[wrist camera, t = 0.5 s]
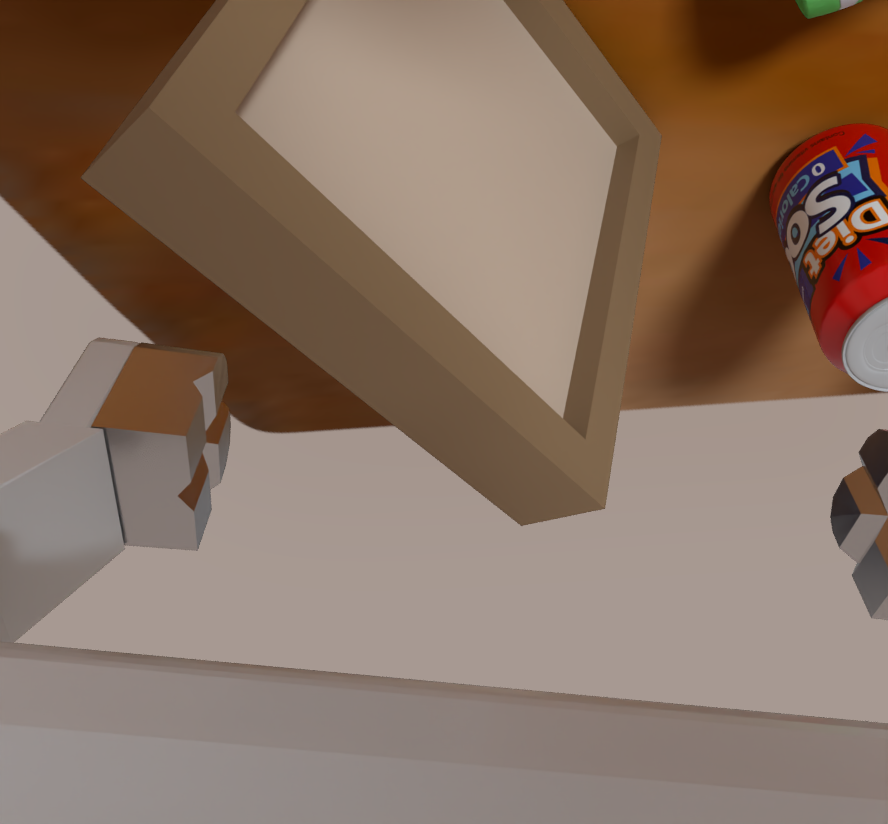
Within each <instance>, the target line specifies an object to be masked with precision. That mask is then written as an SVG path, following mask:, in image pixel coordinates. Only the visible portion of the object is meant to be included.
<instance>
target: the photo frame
mask: <svg viewBox="0 0 888 824" xmlns="http://www.w3.org/2000/svg"><path fill="white" fill-rule="evenodd" d="M661 137H662V135H661V134H660V133H659V131H658V130H657V128H656V127H655V126H654V124H653V123H652V122H651V120H650V119H649V118H648V116H647V115H646V113H645V112H644V111H643V109H642V108H641V107H640V105H639V104H638V103H637V101H636V100H635V98H634V97H633V96H632V94H631V93H630V92H629V90H628V89H627V87H626V86H625V85H624V83H623V82H622V81H621V79H620V78H619V77H618V75H617V74H616V72H615V71H614V70H613V68H612V67H611V66H610V64H609V63H608V62H607V60H606V59H605V57H604V56H603V55H602V53H601V52H600V51H599V49H598V48H597V46H596V45H595V44H594V42H593V41H592V40H591V38H590V37H589V36H588V34H587V33H586V31H585V30H584V29H583V27H582V26H581V25H580V23H579V22H578V21H577V19H576V18H575V16H574V15H573V14H572V12H571V11H570V10H569V8H568V7H567V6H566V4H565V3H564V1H563V0H216V1H215V2H214V4H213V5H212V6H211V8H210V9H209V10H208V11H207V13H206V14H205V15H204V17H203V18H202V19H201V21H200V22H199V23H198V25H197V26H196V27H195V28H194V30H193V31H192V32H191V34H190V35H189V36H188V38H187V39H186V40H185V42H184V43H183V44H182V46H181V47H180V48H179V49H178V51H177V52H176V53H175V55H174V56H173V57H172V59H171V60H170V61H169V63H168V64H167V65H166V67H165V68H164V69H163V70H162V72H161V73H160V74H159V76H158V77H157V78H156V80H155V81H154V82H153V84H152V85H151V86H150V87H149V89H148V90H147V91H146V93H145V94H144V95H143V97H142V98H141V99H140V101H139V102H138V103H137V105H136V106H135V107H134V108H133V110H132V111H131V112H130V114H129V115H128V116H127V118H126V119H125V120H124V122H123V123H122V124H121V125H120V127H119V128H118V129H117V131H116V132H115V133H114V135H113V136H112V137H111V139H110V140H109V141H108V143H107V144H106V145H105V146H104V148H103V149H102V150H101V152H100V153H99V154H98V156H97V157H96V158H95V160H94V161H93V162H92V163H91V165H90V166H89V167H88V169H87V170H86V171H85V173H84V174H83V175H82V177H81V179H83V180H84V181H85V182H86V183H88V184H89V185H90V186H91V187H93V188H94V189H95V190H97V191H98V192H99V193H100V194H102V195H103V196H104V197H105V198H107V199H108V200H109V201H110V202H112V203H113V204H114V205H116V206H117V207H118V208H119V209H121V210H122V211H123V212H124V213H126V214H127V215H128V216H129V217H131V218H132V219H133V220H135V221H136V222H137V223H138V224H140V225H141V226H142V227H143V228H145V229H146V230H147V231H148V232H150V233H151V234H152V235H154V236H155V237H156V238H157V239H159V240H160V241H161V242H162V243H164V244H165V245H166V246H167V247H169V248H170V249H171V250H173V251H174V252H175V253H176V254H178V255H179V256H180V257H181V258H183V259H184V260H185V261H186V262H188V263H189V264H190V265H192V266H193V267H194V268H195V269H197V270H198V271H199V272H200V273H202V274H203V275H204V276H205V277H207V278H208V279H209V280H211V281H212V282H213V283H214V284H216V285H217V286H218V287H219V288H221V289H222V290H223V291H224V292H226V293H227V294H228V295H230V296H231V297H232V298H233V299H235V300H236V301H237V302H238V303H240V304H241V305H242V306H243V307H245V308H246V309H247V310H249V311H250V312H251V313H252V314H254V315H255V316H256V317H257V318H259V319H260V320H261V321H262V322H264V323H265V324H266V325H268V326H269V327H270V328H271V329H273V330H274V331H275V332H276V333H278V334H279V335H280V336H281V337H283V338H284V339H285V340H287V341H288V342H289V343H290V344H292V345H293V346H294V347H295V348H297V349H298V350H299V351H301V352H302V353H303V354H304V355H306V356H307V357H308V358H309V359H311V360H312V361H313V362H314V363H316V364H317V365H318V366H320V367H321V368H322V369H323V370H325V371H326V372H327V373H328V374H330V375H331V376H332V377H333V378H335V379H336V380H337V381H339V382H340V383H341V384H342V385H344V386H345V387H346V388H347V389H349V390H350V391H351V392H352V393H354V394H355V395H356V396H358V397H359V398H360V399H361V400H363V401H364V402H365V403H366V404H368V405H369V406H370V407H371V408H373V409H374V410H375V411H377V412H378V413H379V414H380V415H382V416H383V417H384V418H385V419H387V420H388V421H389V422H390V423H392V424H393V425H394V426H396V427H397V428H398V429H399V430H401V431H402V432H404V433H405V434H406V435H407V436H408V437H409V438H411V439H412V440H413V441H415V442H416V443H417V444H418V445H420V446H421V447H422V448H424V449H425V450H426V451H427V452H428V453H430V454H431V455H432V456H434V457H435V458H436V459H437V460H439V461H440V462H441V463H443V464H444V465H445V466H446V467H448V468H449V469H450V470H451V471H453V472H454V473H455V474H457V475H458V476H459V477H460V478H461V479H463V480H464V481H465V482H466V483H468V484H469V485H470V486H472V487H473V488H474V489H475V490H477V491H478V492H479V493H481V494H482V495H483V496H484V497H485V498H487V499H488V500H489V501H491V502H492V503H493V504H494V505H496V506H497V507H498V508H500V509H501V510H502V511H503V512H504V513H506V514H507V515H508V516H510V517H511V518H512V519H513V520H515V521H516V522H517V523H518V524H520V525H521V526H523V525H528V524H532V523H537V522H542V521H547V520H551V519H557V518H561V517H567V516H571V515H576V514H581V513H586V512H591V511H596V510H601V509H605V505H606V499H607V492H608V486H609V479H610V472H611V465H612V459H613V452H614V446H615V440H616V433H617V426H618V420H619V413H620V407H621V400H622V394H623V387H624V380H625V374H626V367H627V361H628V354H629V348H630V341H631V334H632V328H633V321H634V315H635V308H636V302H637V295H638V288H639V282H640V275H641V269H642V262H643V256H644V249H645V242H646V236H647V229H648V223H649V216H650V210H651V203H652V196H653V190H654V183H655V177H656V170H657V164H658V157H659V150H660V144H661Z"/></svg>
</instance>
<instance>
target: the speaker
mask: <svg viewBox="0 0 888 824" xmlns="http://www.w3.org/2000/svg"><path fill="white" fill-rule="evenodd" d="M795 1H796V3H797V5H798V7H799V9H800V10H801V12H802V13H803V15H804V16H805V17H806V18H808V19H809V18H813V17H817V16H821V15H825V14H829V13H832V12H835V11H838V10H841V9H844V8H847V7H849V6H852V5H854V4H857V3H859V2H861V1H863V0H795Z"/></svg>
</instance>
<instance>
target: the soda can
mask: <svg viewBox="0 0 888 824" xmlns="http://www.w3.org/2000/svg"><path fill="white" fill-rule="evenodd" d="M769 203H770V210H771V214H772V217H773V220H774V223H775V226H776V229H777V231H778V234H779V237H780V240H781V242H782V245H783V248H784V250H785V253H786V256H787V258H788V261H789V264H790V267H791V269H792V272H793V275H794V277H795V280H796V283H797V286H798V288H799V291H800V294H801V296H802V299H803V302H804V304H805V307H806V310H807V313H808V315H809V318H810V321H811V323H812V326H813V329H814V331H815V334H816V337H817V340H818V342H819V345H820V347H821V349H822V351H823V353H824V355H825V356H826V357H827V359H828V360H829V361H830V362H831V363H832V364H833V365H834V366H835V367H837V368H838V369H840V370H841V371H843V372H845V373H847V374H849V375H850V377H851V378H852V379H854V380H855V381H856V382H858V383H859V384H861V385H863V386H865V387H867V388H870V389H874V390H878V391H885V392H888V129H886V128H884V127H881V126H878V125H873V124H863V123H858V124H847V125H842V126H838V127H834V128H831V129H828V130H826V131H823V132H821V133H819V134H817V135H815V136H813V137H811V138H810V139H808V140H807V141H805V142H804V143H802V144H801V145H800V146H798V147H797V148H796V149H795V150H794V151H793V152H792V153H791V154H790V155H789V156H788V157H787V158H786V159H785V161H784V162H783V163H782V165H781V166H780V168H779V169H778V171H777V173H776V175H775V177H774V179H773V182H772V185H771V189H770V195H769Z"/></svg>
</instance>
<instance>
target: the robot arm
mask: <svg viewBox="0 0 888 824" xmlns="http://www.w3.org/2000/svg"><path fill="white" fill-rule="evenodd" d="M227 384H228V371H227V360H226V358H225V356H224V355H223V354H222V353H215V352H207V351H200V350H193V349H185V348H178V347H171V346H163V345H156V344H148V343H137V342H131V341H123V340H115V339H106V338H97V339H95V340H93V341H91V342H90V343H89V344H88V346H87V347H86V349H85V350H84V352H83V354H82V355H81V357H80V358H79V360H78V361H77V363H76V365H75V366H74V368H73V369H72V371H71V373H70V374H69V376H68V377H67V379H66V381H65V382H64V384H63V386H62V387H61V389H60V390H59V392H58V393H57V395H56V397H55V398H54V400H53V401H52V403H51V404H50V406H49V408H48V409H47V411H46V412H45V414H44V415H43V417H42V419H41V420H40V422H33V421H25V422H23V423H21V424H19V425H17V426H15V427H13V428H11V429H9V430H7V431H5V432H3V433H1V434H0V824H888V723H878V722H868V721H856V720H845V719H834V718H824V717H814V716H803V715H792V714H781V713H770V712H759V711H749V710H738V709H727V708H717V707H716V708H715V707H706V706H695V705H684V704H673V703H662V702H651V701H641V700H629V699H619V698H608V697H596V696H586V695H575V694H565V693H553V692H543V691H532V690H520V689H510V688H500V687H488V686H478V685H477V686H476V685H466V684H456V683H446V682H434V681H423V680H413V679H401V678H391V677H380V676H370V675H359V674H348V673H337V672H326V671H315V670H305V669H294V668H283V667H272V666H261V665H250V664H239V663H229V662H218V661H206V660H196V659H185V658H174V657H163V656H153V655H142V654H131V653H119V652H109V651H98V650H88V649H77V648H65V647H55V646H43V645H34V644H22V643H14V642H15V641H16V640H17V639H19V638H20V637H21V636H22V635H23V634H25V633H26V632H27V631H28V630H29V629H31V628H32V627H33V626H34V625H35V624H36V623H38V622H39V621H40V620H41V619H42V618H44V617H45V616H46V615H47V614H48V613H49V612H51V611H52V610H53V609H54V608H56V607H57V606H58V605H59V604H60V603H61V602H62V601H64V600H65V599H66V598H67V597H69V596H70V595H71V594H72V593H73V592H74V591H76V590H77V589H78V588H79V587H80V586H81V585H83V584H84V583H85V582H86V581H88V580H89V579H90V578H91V577H92V576H93V575H94V574H96V573H97V572H98V571H99V570H100V569H102V568H103V567H104V566H105V565H107V564H108V563H109V562H110V561H111V560H112V559H114V558H115V557H116V556H117V555H118V554H120V553H121V552H122V551H123V550H124V549H125V548H124V545H129V546H143V547H156V548H170V549H184V550H196V551H197V550H198V548H199V545H200V542H201V539H202V536H203V533H204V530H205V527H206V524H207V521H208V518H209V515H210V512H211V495H210V490H211V489H212V488H214V487H215V486H216V485H218V484H219V483H220V482H221V479H222V476H223V473H224V469H225V466H226V461H227V456H228V450H229V444H230V428H231V423H230V409H229V408H228V407H227V406H226V405H225V404H224V403H223V401H222V398H223V395H224V393H225V390H226V387H227ZM859 455H860V459H861V462H862V465H863V466H862V467H860V468H859V469H857V470H855V471H854V472H852V473H850V474H849V475H847V476H845V477H844V478H843V479H842V481H841V483H840V485H839V487H838V489H837V491H836V493H835V494H834V496H833V502H832V509H831V516H830V518H831V524H832V531H833V534H834V536H835V539H836V541H837V543H838V546H839V548H840V549H841V550H843V551H844V552H845V553H846V554H847V555H848V556H850V557H851V558H852V559H853V560H855V561H856V562H857V565H856V567H855V569H854V572H853V574H852V577H853V579H854V581H855V583H856V586H857V588H858V590H859V592H860V594H861V596H862V599H863V601H864V603H865V605H866V607H867V609H868V612H869V614H870V616H871V618H875V619H884V620H888V430H883V429H878V430H877V431H876V432H875V433H873V434H872V435H871V436H869V437H868V438H867V440H866V441H865V443H864V445H863V446H862V448H861V450H860V451H859Z"/></svg>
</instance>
